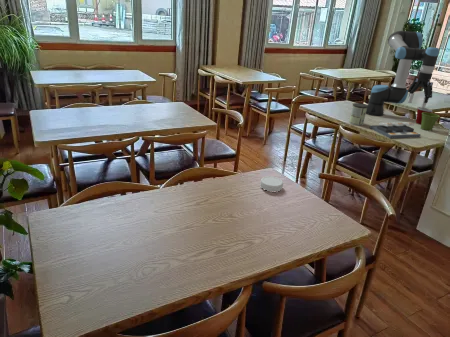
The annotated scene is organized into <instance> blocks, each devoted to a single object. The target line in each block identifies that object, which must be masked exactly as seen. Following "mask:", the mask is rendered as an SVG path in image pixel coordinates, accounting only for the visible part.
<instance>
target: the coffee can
mask: <svg viewBox="0 0 450 337" xmlns="http://www.w3.org/2000/svg"><path fill="white" fill-rule="evenodd" d="M367 105H368V104H365V103H360V102H359V103H357V102H353V103H352V108H351V112H350V117H349V121H348V123H349V124H351V125H353V126H364V123H365V117H366V115H367V114H366V110H367V107H368V106H367Z"/></svg>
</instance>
